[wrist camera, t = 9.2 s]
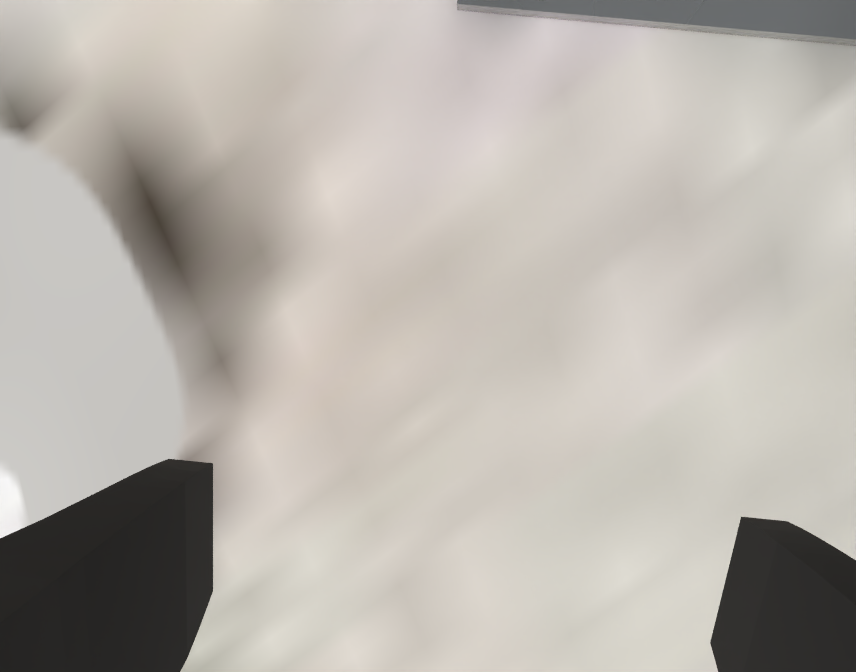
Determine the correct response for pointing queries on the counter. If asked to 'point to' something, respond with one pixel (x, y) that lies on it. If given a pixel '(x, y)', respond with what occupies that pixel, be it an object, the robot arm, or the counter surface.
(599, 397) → the counter surface
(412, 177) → the counter surface
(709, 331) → the counter surface
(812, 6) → the grey slotted socket block
